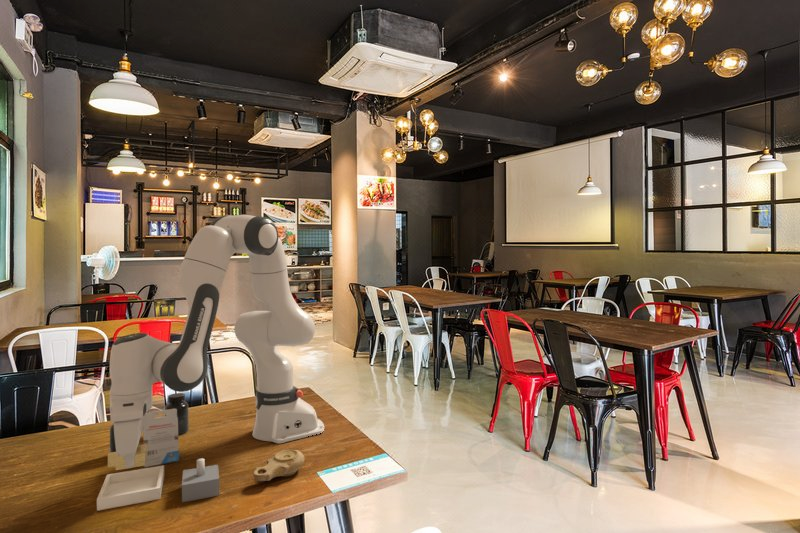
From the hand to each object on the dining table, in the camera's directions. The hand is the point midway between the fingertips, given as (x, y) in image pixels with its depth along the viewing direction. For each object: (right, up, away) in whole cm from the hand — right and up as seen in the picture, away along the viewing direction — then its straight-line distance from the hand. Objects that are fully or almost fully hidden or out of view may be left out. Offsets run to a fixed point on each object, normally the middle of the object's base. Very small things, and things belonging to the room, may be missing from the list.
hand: (132, 459), depth 111 cm
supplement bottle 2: (-7, -7, +38) cm, 39 cm away
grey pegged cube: (+16, -8, +1) cm, 18 cm away
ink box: (-2, -8, +17) cm, 19 cm away
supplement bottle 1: (-14, -8, +21) cm, 26 cm away
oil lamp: (+34, -8, +8) cm, 36 cm away
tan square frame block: (0, -1, 0) cm, 1 cm away
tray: (0, -8, 0) cm, 8 cm away
